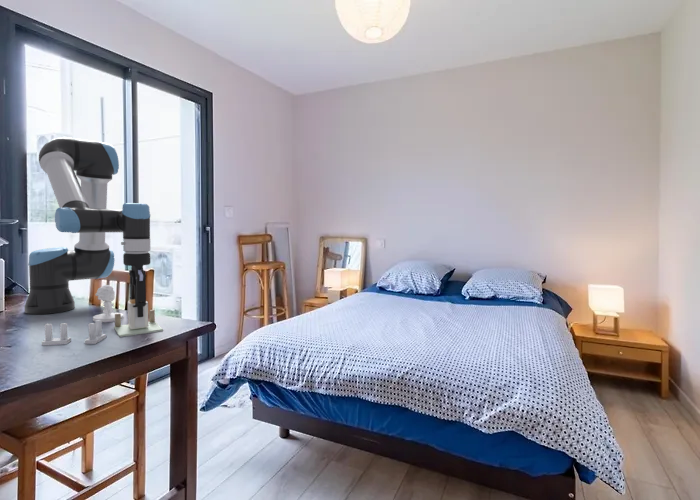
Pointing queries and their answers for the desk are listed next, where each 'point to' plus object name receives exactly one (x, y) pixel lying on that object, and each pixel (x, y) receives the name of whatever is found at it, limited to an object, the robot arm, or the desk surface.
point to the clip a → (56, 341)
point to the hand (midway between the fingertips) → (138, 324)
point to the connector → (132, 315)
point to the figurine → (106, 304)
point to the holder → (126, 331)
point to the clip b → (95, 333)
